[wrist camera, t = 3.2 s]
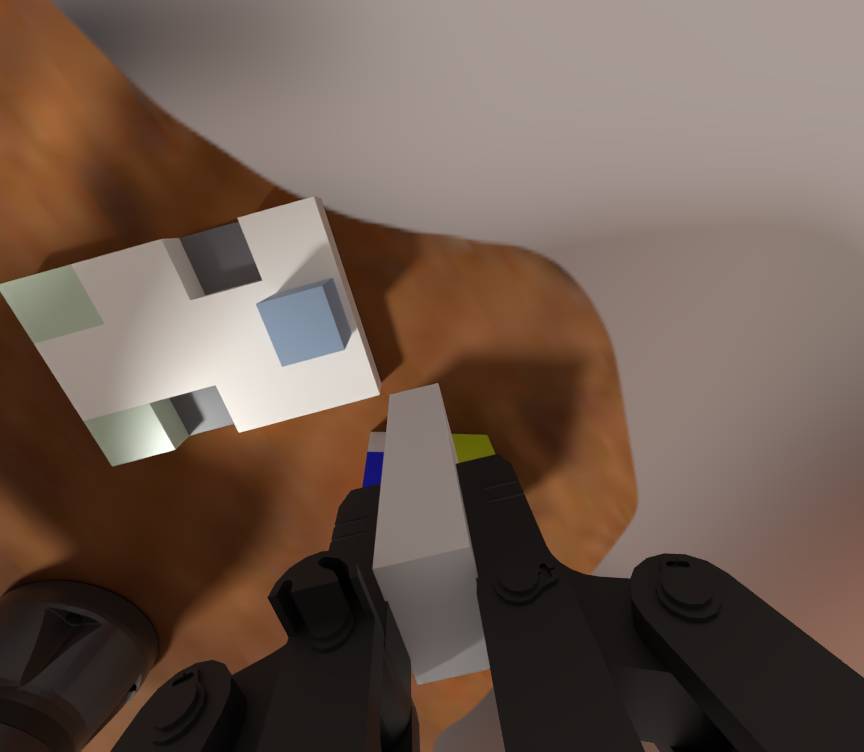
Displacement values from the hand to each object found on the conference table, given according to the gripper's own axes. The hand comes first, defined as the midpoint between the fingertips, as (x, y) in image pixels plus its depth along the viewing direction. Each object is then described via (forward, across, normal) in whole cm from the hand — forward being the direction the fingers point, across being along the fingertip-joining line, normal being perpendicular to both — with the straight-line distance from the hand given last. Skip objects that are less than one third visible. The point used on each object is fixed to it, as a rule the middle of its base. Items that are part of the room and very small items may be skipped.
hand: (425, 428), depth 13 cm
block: (+17, +7, -2) cm, 18 cm away
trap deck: (+19, +15, -2) cm, 24 cm away
